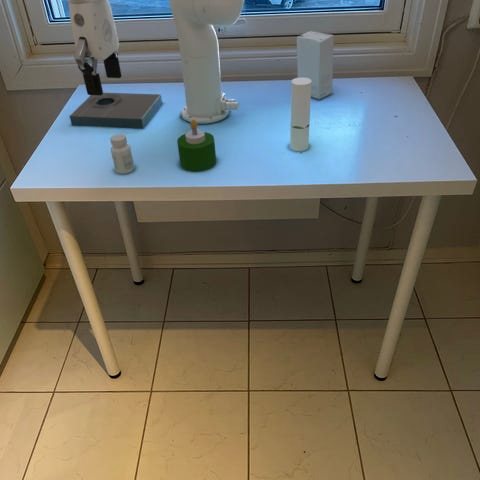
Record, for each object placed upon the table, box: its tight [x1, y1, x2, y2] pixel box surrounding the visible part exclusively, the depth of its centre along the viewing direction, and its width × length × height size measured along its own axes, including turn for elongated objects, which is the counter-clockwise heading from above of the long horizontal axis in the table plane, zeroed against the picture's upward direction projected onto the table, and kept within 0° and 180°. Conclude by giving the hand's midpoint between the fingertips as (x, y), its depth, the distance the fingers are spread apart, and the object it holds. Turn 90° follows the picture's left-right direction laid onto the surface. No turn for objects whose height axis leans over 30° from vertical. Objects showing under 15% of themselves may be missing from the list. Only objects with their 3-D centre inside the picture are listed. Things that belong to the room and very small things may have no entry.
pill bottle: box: [109, 133, 135, 175], centre depth 116 cm, size 4×4×8 cm
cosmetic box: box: [296, 30, 335, 100], centre depth 139 cm, size 8×6×15 cm
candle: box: [176, 120, 217, 172], centre depth 116 cm, size 8×8×10 cm
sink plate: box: [69, 92, 163, 129], centre depth 140 cm, size 20×16×2 cm
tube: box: [289, 77, 312, 152], centre depth 117 cm, size 4×4×15 cm
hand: (105, 85), depth 107 cm, fingers open, 9 cm apart
